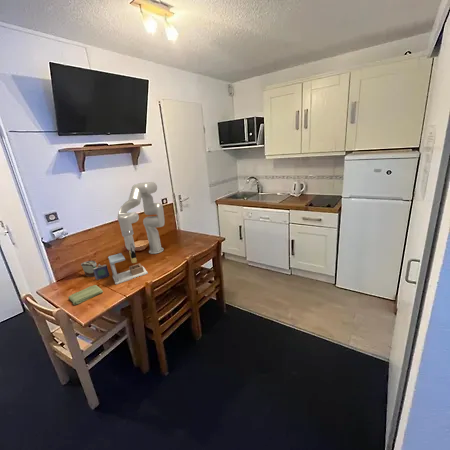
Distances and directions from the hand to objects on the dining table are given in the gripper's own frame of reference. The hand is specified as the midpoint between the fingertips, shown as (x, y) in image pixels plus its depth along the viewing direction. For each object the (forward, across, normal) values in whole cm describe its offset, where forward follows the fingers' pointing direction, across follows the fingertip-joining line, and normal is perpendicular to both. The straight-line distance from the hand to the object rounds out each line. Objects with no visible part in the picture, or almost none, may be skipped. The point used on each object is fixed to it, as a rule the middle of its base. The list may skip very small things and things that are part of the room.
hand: (133, 256), depth 178 cm
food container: (+13, -23, -27) cm, 38 cm away
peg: (+4, 0, 0) cm, 4 cm away
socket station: (+13, 0, -5) cm, 14 cm away
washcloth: (+14, +8, -34) cm, 38 cm away
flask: (+13, -11, -22) cm, 28 cm away
